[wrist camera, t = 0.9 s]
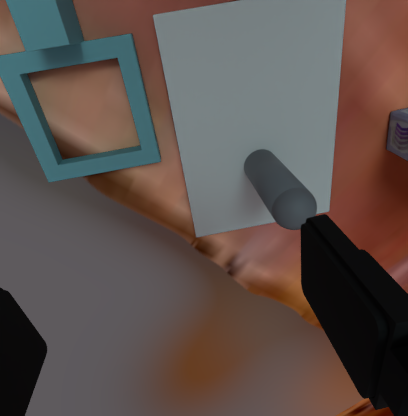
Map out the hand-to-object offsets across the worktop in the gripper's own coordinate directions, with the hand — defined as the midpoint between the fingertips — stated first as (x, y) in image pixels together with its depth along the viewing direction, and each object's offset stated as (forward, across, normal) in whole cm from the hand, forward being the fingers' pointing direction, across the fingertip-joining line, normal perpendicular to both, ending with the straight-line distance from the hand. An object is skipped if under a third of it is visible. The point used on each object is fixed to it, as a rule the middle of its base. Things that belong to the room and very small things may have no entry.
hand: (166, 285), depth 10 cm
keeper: (+22, -9, +3) cm, 24 cm away
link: (+22, +6, -4) cm, 24 cm away
